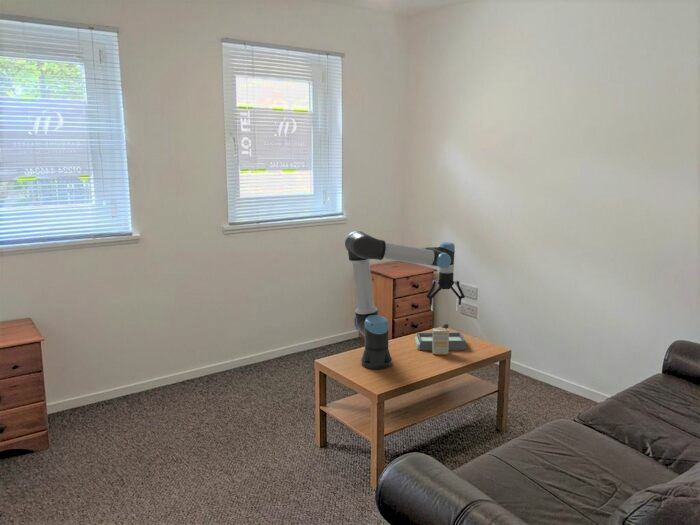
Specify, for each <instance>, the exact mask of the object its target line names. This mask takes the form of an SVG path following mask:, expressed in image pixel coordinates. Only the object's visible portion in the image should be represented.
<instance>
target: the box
mask: <svg viewBox="0 0 700 525" xmlns="http://www.w3.org/2000/svg"><path fill="white" fill-rule="evenodd" d="M432 335H433V332H417V333H416V336H414V342H415V343H414V344H415V346H416V349H417V350H419V351H432ZM466 343H467V342H466V338H464V336H463V334H462V332H459V331H456V332H453V331H452V332H450V331H449V351H465V350H466V345H467V344H466Z"/></svg>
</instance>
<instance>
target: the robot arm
mask: <svg viewBox="0 0 700 525" xmlns="http://www.w3.org/2000/svg"><path fill="white" fill-rule="evenodd" d="M344 246H345V248H346V249H345V250H346V251H347V254H348V255H347V256H348V261H349V262H351V264H352V270H353V280H354V287H355V296H356V297H355V298H356V306H357V307H356V308H355V311H354V313H355V315H354V318H353V324H354V327H355V329H356V330H357V331H358V332H359V333H361V335H362V336H363V337H364V350H363V353H362V356H361V358H360V359H361V365H362V367H365V369H370V370H383V369H388V368H389V367H392V364H393V359H392V356H391V352H390V350H389V328H390V326H389V320H388V318H386V317H385V316H382V315H381V314H380V315H379V310H378V307H376V306H375V301H374V290H373V283H372V274H371V265H370V264H371V263H370V261H371V260H377V261H378V260H379V261H383V260H384V259H387V260H391V261H392V260H394V261H397V262H398V261H400V262H406V263H411V264H412V263H413V264H420V265H427V266H433V267H438V268H439V269H438V270H439V271H438V280H435V279H433V280H432V283H431V285H430V287H429V289H428V291H427V293H426V295H425V296H426V298H427V299H429V301H428V302H429V305H430V306H431V307H430V310H431V311H432V312H434V297H435V296H436V295H437V294H438V293H439V292H440V291H441V290H449V289H451V291H452V292H453V293H454V294H455V295H456V297H457V298H456V303H455V304H456V308H455V310H456V312H459V311H460V308H459V307H460V306H461V305H462V299H465V297H466V296H465V294H464V291H463V290H462V287H461V286H460V281H459V280H458V279H457V280H454V276H455V275H454V271H455V270H454V269H455V268H454V267H455V252H456V251H455V246H456V245H455V243H453V242H451V241H450V242H447V241H445V242H441V243H440V244H439V246H438V247H437V246H433V247H432V246H431V247H428V246H427V247H426V246H425V247H420V248H419V247H414V246H408V245H401V244H394V243H390V242H389V243H388V242H386V241H385V240H383V239H378V238H375V237H373V236H371V235H369V234H367V233H365V232H363V231H359V230H358V231H357V230H355V231H352V232H350V233H348V235H347V236H346V238H345V240H344ZM437 284H438V286H437V287H436V285H437ZM453 285H455V286H456V287H457V289H458V292H459V293H458V292H457V290H456V289H455V288H454V287H453ZM435 287H436V289H435ZM434 289H435V290H434Z"/></svg>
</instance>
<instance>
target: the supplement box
mask: <svg viewBox="0 0 700 525" xmlns="http://www.w3.org/2000/svg"><path fill="white" fill-rule="evenodd" d="M449 332H450V330H449V328H448V329H446V328H442V327H440V328H439V327H437V328H436V327H433V328H432V333H433V335H432V350H431V351H432V355H438V356H442V355H443V356H447V355H448V356H449V353H450V352H449V351H450V350H449Z"/></svg>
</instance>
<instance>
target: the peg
mask: <svg viewBox="0 0 700 525" xmlns="http://www.w3.org/2000/svg"><path fill="white" fill-rule="evenodd" d="M441 328H446V329H448V330H449V323H446V322H444V323H442V324H441Z"/></svg>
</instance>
